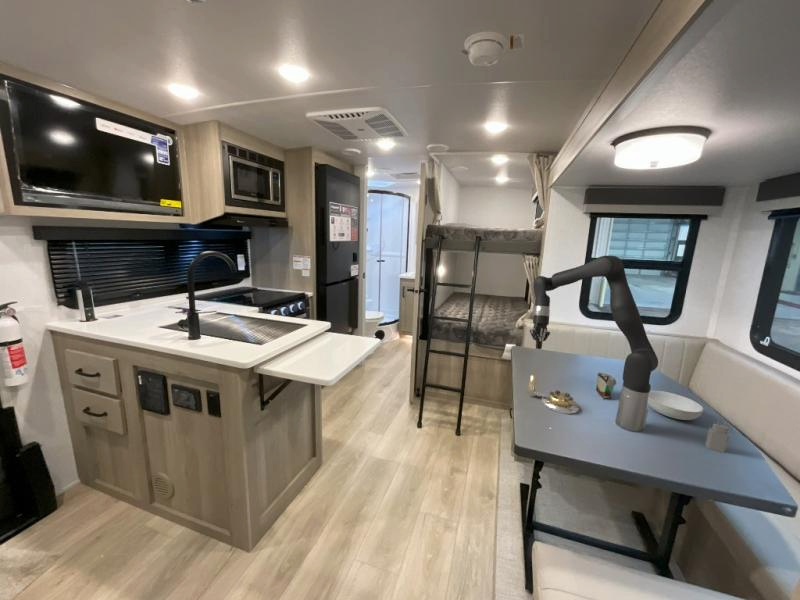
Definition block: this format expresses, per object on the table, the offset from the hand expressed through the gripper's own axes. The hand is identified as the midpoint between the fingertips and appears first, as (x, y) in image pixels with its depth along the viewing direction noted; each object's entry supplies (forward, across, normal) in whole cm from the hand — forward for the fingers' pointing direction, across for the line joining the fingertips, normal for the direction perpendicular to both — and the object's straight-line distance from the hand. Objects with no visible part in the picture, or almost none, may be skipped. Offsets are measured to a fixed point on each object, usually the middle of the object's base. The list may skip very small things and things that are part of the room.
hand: (538, 349), depth 166 cm
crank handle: (+23, -1, -9) cm, 24 cm away
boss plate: (+25, +2, -13) cm, 28 cm away
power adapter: (+30, +32, -58) cm, 73 cm away
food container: (+20, +34, -15) cm, 42 cm away
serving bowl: (+23, +47, -37) cm, 64 cm away
